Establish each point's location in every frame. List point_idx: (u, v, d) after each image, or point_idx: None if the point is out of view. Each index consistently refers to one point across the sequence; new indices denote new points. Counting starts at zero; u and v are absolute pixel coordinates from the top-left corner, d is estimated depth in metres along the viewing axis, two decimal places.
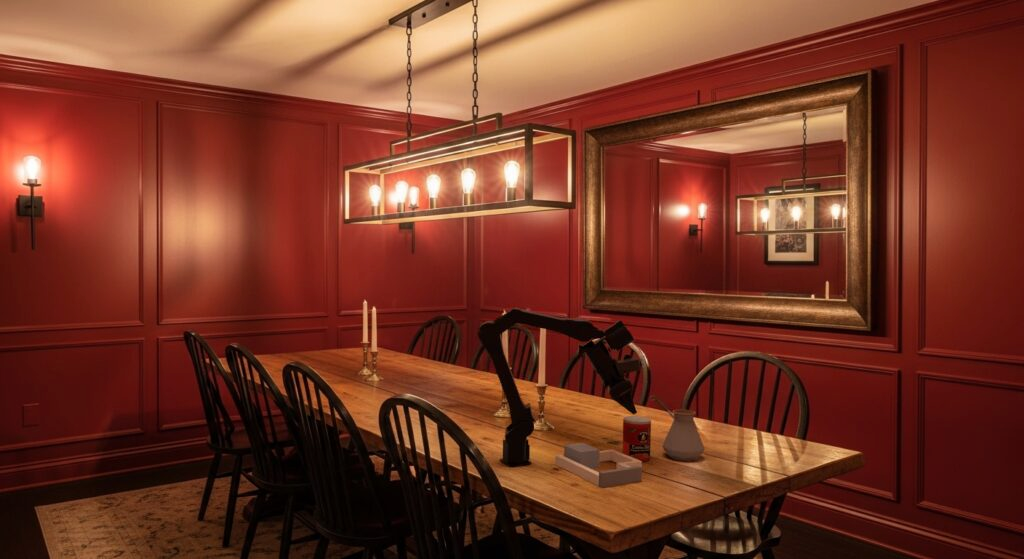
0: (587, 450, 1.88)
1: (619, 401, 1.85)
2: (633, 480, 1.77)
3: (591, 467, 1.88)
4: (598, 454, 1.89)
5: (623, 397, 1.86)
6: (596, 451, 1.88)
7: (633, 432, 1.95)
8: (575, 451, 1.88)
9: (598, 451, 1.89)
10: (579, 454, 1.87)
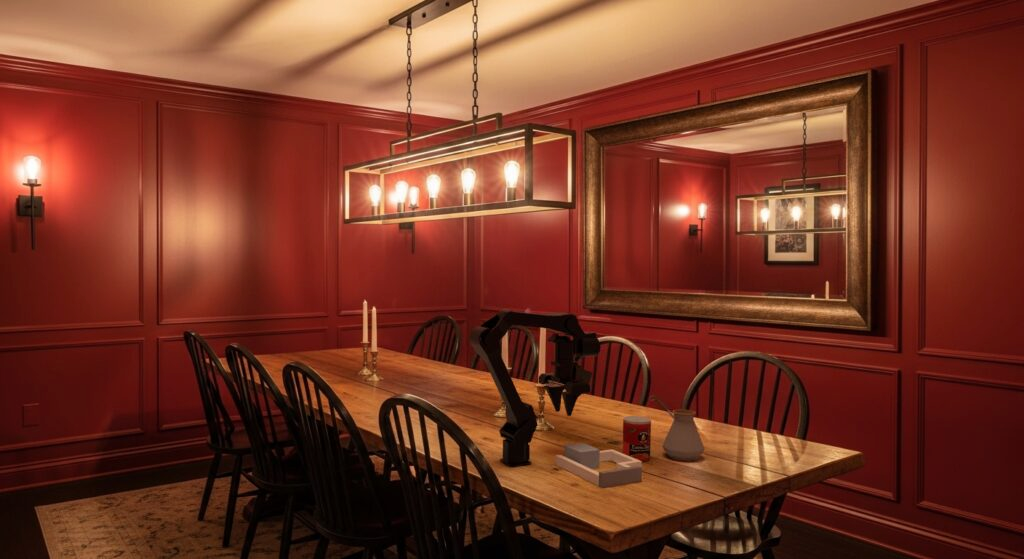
0: (587, 450, 1.88)
1: (567, 398, 1.94)
2: (633, 480, 1.77)
3: (591, 467, 1.88)
4: (598, 454, 1.89)
5: (570, 396, 1.95)
6: (596, 451, 1.88)
7: (633, 432, 1.95)
8: (575, 451, 1.88)
9: (598, 451, 1.89)
10: (579, 454, 1.87)
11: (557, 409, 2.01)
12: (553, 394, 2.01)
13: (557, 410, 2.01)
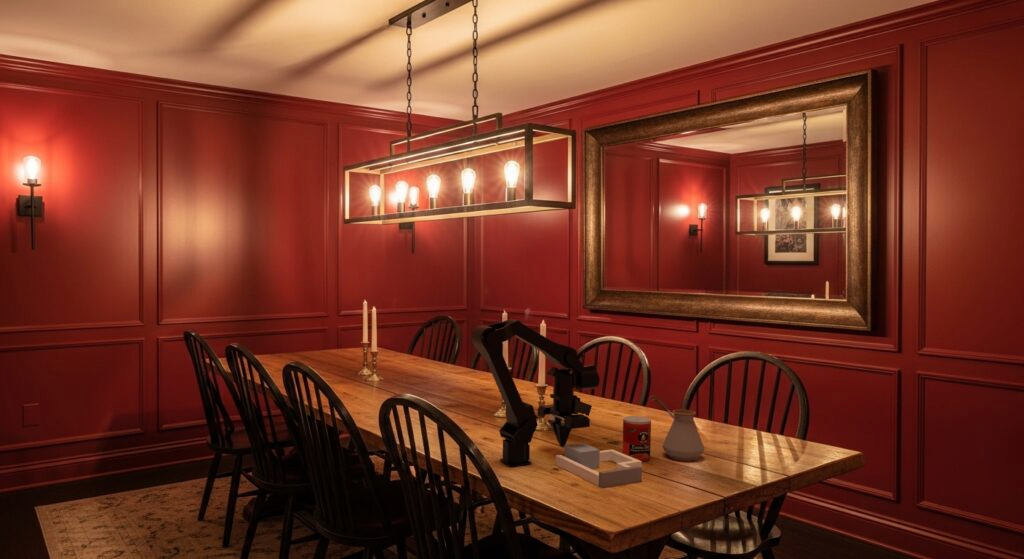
0: (587, 450, 1.88)
1: (560, 429, 1.97)
2: (633, 480, 1.77)
3: (591, 467, 1.88)
4: (598, 454, 1.89)
5: (564, 428, 1.98)
6: (596, 451, 1.88)
7: (633, 432, 1.95)
8: (575, 451, 1.88)
9: (598, 451, 1.89)
10: (579, 454, 1.87)
11: None
12: None
13: None
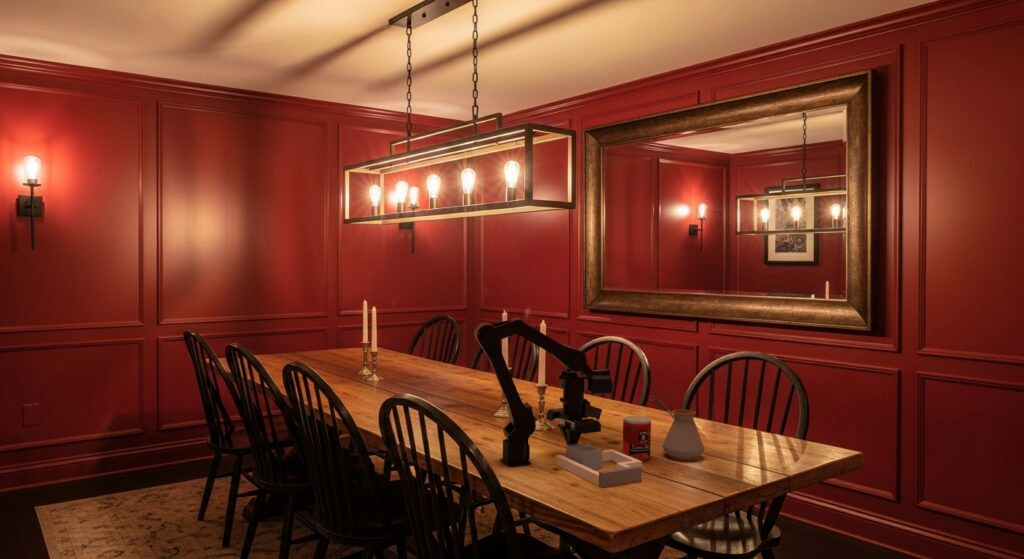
0: (590, 450, 1.87)
1: (570, 434, 1.92)
2: (633, 480, 1.77)
3: (594, 467, 1.87)
4: (601, 454, 1.88)
5: (574, 432, 1.94)
6: (599, 451, 1.88)
7: (633, 432, 1.95)
8: (578, 451, 1.87)
9: (601, 451, 1.88)
10: (582, 454, 1.86)
11: None
12: None
13: None
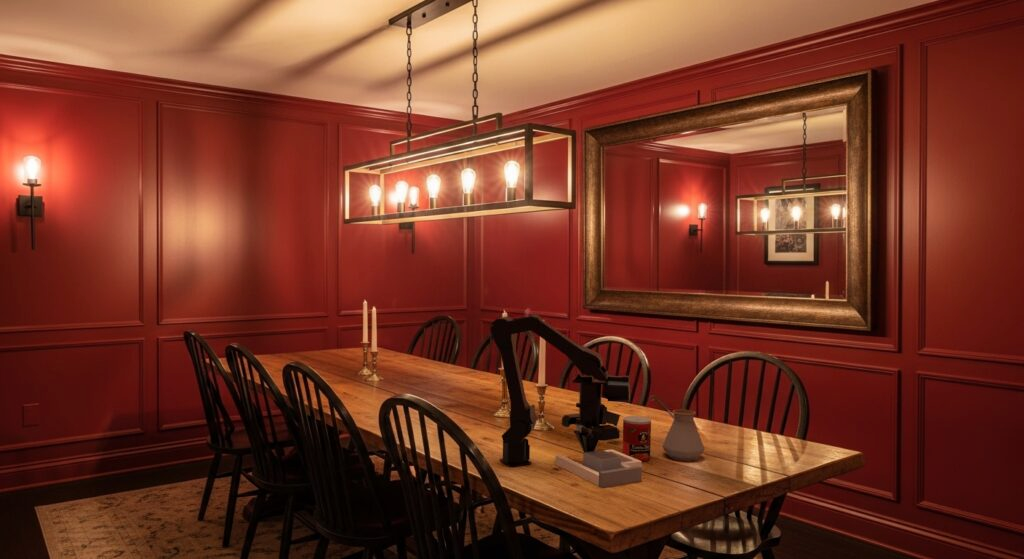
0: (608, 458, 1.80)
1: (587, 441, 1.85)
2: (633, 480, 1.77)
3: None
4: (620, 462, 1.81)
5: (591, 439, 1.86)
6: (618, 459, 1.81)
7: (633, 432, 1.95)
8: (596, 459, 1.80)
9: (620, 459, 1.81)
10: (600, 462, 1.79)
11: None
12: None
13: None
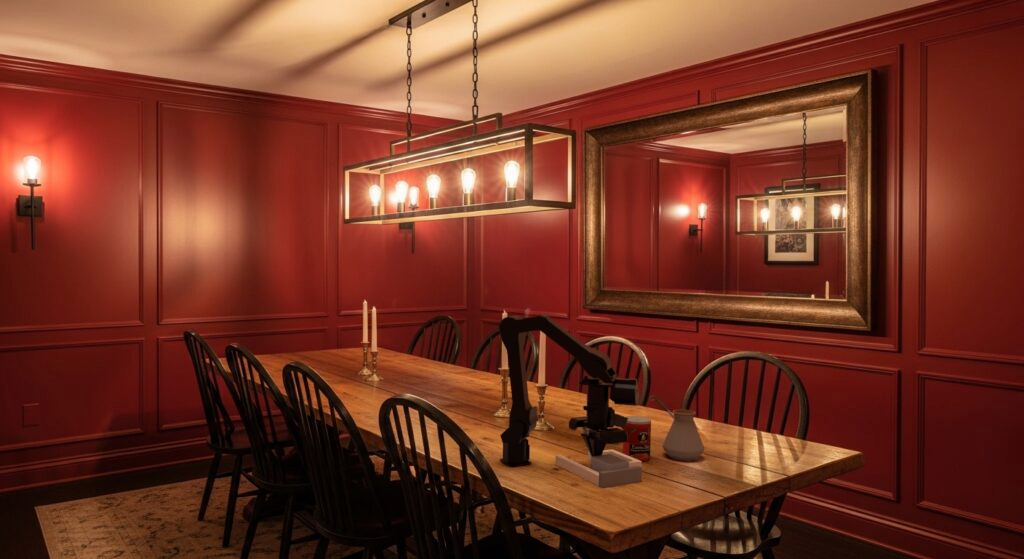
0: (616, 462, 1.77)
1: (595, 444, 1.82)
2: (633, 480, 1.77)
3: None
4: (627, 466, 1.78)
5: (598, 442, 1.83)
6: (625, 463, 1.78)
7: (633, 432, 1.95)
8: (603, 463, 1.77)
9: (627, 463, 1.78)
10: (608, 466, 1.76)
11: None
12: None
13: None
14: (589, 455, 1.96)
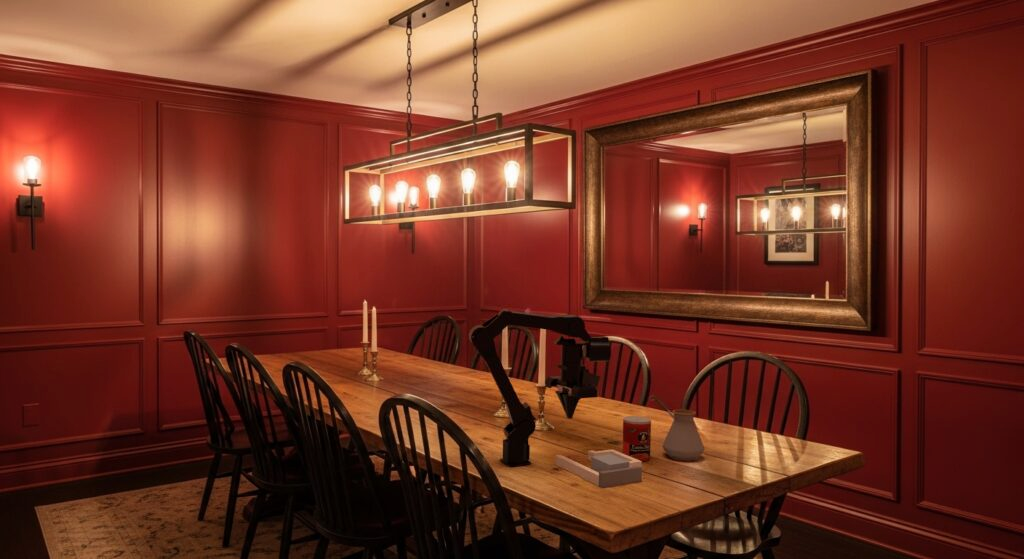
0: (616, 462, 1.77)
1: (568, 400, 1.91)
2: (633, 480, 1.77)
3: None
4: (628, 466, 1.78)
5: (571, 399, 1.93)
6: (626, 463, 1.78)
7: (633, 432, 1.95)
8: (604, 463, 1.77)
9: (628, 463, 1.78)
10: (608, 466, 1.76)
11: None
12: None
13: None
14: (589, 455, 1.96)
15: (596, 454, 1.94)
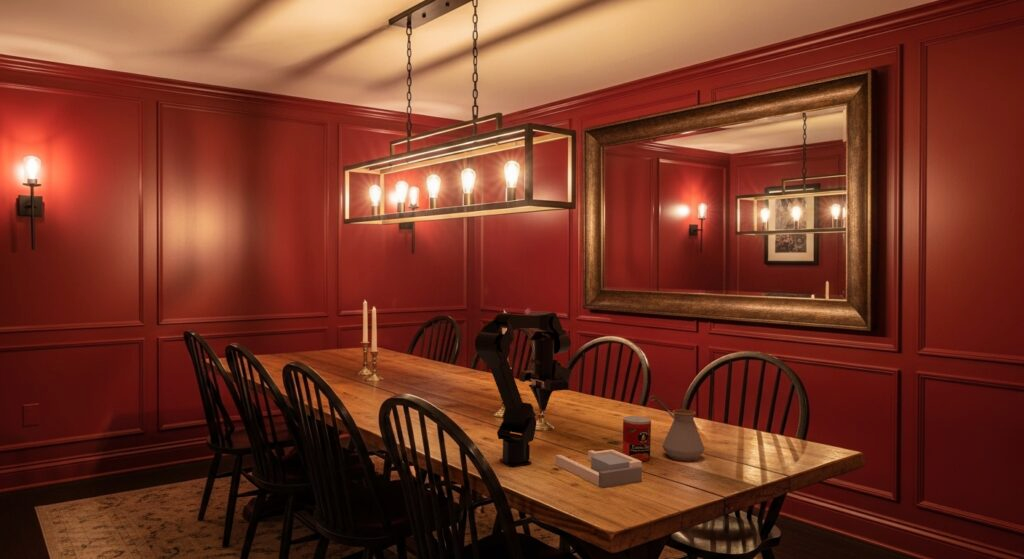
0: (616, 462, 1.77)
1: (541, 393, 2.00)
2: (633, 480, 1.77)
3: None
4: (628, 466, 1.78)
5: (544, 392, 2.01)
6: (626, 463, 1.78)
7: (633, 432, 1.95)
8: (604, 463, 1.77)
9: (628, 463, 1.78)
10: (608, 466, 1.76)
11: None
12: None
13: None
14: (589, 455, 1.96)
15: (596, 454, 1.94)
